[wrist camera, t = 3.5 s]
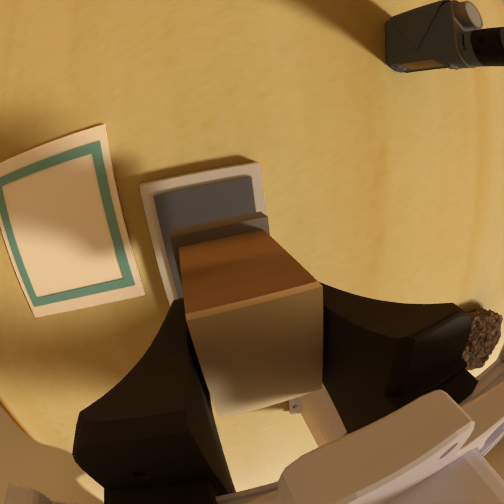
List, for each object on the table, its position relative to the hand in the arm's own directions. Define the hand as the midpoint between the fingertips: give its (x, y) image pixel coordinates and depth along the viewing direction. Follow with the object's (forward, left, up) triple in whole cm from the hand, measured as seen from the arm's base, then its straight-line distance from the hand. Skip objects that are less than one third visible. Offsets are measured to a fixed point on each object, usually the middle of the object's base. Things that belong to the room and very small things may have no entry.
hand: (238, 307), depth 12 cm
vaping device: (+13, -16, -8) cm, 22 cm away
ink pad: (0, 0, -8) cm, 8 cm away
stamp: (0, 0, -2) cm, 3 cm away
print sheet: (+3, +9, -8) cm, 13 cm away
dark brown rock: (-20, -30, -8) cm, 37 cm away
